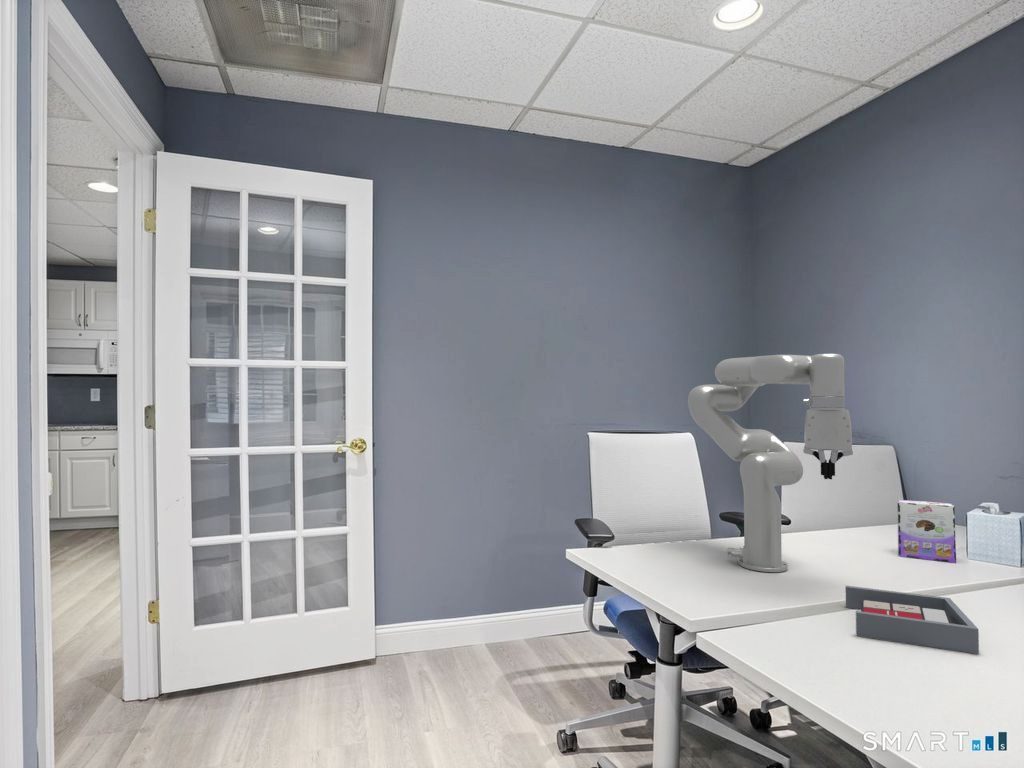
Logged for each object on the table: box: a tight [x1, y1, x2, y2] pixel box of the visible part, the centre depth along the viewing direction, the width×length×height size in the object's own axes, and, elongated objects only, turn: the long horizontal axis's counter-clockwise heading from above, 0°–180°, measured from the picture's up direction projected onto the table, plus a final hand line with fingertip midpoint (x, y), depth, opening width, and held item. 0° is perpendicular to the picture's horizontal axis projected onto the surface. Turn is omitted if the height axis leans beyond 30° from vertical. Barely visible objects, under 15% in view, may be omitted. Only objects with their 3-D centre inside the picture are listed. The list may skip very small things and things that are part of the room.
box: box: [844, 585, 980, 655], centre depth 117 cm, size 19×18×4 cm
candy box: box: [896, 499, 957, 564], centre depth 170 cm, size 14×6×16 cm, turn 58°
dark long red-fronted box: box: [860, 600, 951, 623], centre depth 116 cm, size 11×4×15 cm
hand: (827, 478), depth 141 cm, fingers closed
